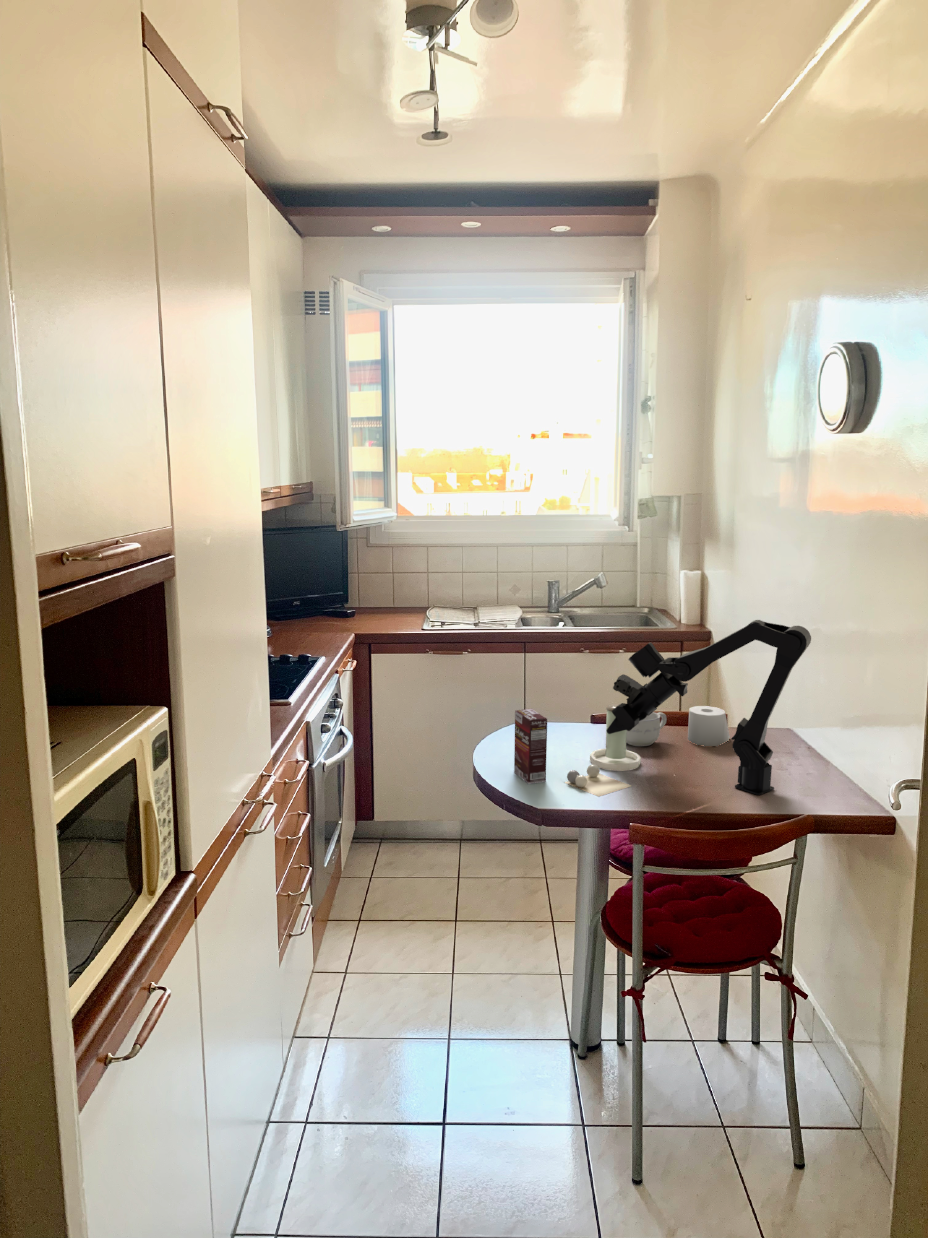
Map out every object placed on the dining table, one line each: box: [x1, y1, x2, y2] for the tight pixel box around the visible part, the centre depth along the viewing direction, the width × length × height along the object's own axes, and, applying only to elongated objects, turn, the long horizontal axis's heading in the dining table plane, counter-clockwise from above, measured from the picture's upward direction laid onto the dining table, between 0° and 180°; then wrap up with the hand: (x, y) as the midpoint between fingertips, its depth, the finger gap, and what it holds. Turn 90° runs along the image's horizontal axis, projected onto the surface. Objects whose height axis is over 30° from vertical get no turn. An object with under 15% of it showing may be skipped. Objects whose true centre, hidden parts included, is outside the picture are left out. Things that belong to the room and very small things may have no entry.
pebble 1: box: [566, 769, 581, 783], centre depth 204 cm, size 3×3×3 cm
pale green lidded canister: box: [605, 703, 627, 759], centre depth 217 cm, size 5×5×12 cm
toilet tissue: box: [687, 705, 731, 747], centre depth 237 cm, size 9×13×9 cm
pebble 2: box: [575, 774, 587, 788], centre depth 201 cm, size 3×3×3 cm
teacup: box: [626, 711, 667, 747], centre depth 235 cm, size 14×11×8 cm
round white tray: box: [589, 748, 642, 772], centre depth 218 cm, size 12×12×2 cm
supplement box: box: [513, 708, 548, 785], centre depth 206 cm, size 9×5×16 cm, turn 21°
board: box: [563, 773, 632, 798], centre depth 203 cm, size 11×11×1 cm
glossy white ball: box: [586, 764, 601, 777], centre depth 208 cm, size 3×3×3 cm
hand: (611, 729), depth 218 cm, fingers closed on pale green lidded canister, 5 cm apart
